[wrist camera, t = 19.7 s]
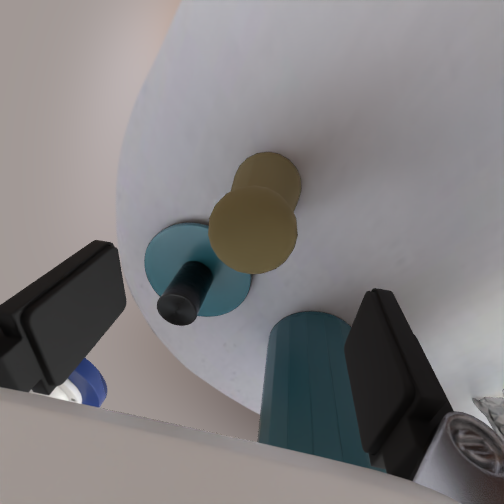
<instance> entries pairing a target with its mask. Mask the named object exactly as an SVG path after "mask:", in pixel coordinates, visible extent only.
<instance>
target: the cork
mask: <svg viewBox="0 0 504 504" xmlns="http://www.w3.org/2000/svg"><path fill="white" fill-rule="evenodd" d="M300 193H301V178H300V176H299V173H298V171H297V169H296V167H295V166H294V165H293V164H292V163H291V161H290V160H289V159H287V158H285V157H283V156H282V155H280V154H277V153H271V152H263V153H257V154H255V155H253V156H251V157H249V158H247V159H246V160H245V161H244V162H243V163H242V164H241V165H240V166H239V168H238V170H237V172H236V174H235V177H234V181H233V184H232V188H231V192H229V193H227V194H226V195H225V196H224V197H223V198H222V199H221V200H220V201H219V202H218V203H217V204H216V205H215V207H214V209H213V211H212V213H211V216H210V218H209V229H208V236H209V240H210V244H211V247H212V249H213V250H214V252H215V253H216V255H217V257H218V258H219V259H220V260H221V261H222V262H223V263H225V264H226V265H227V266H228V267H230V268H232V269H234V270H236V271H238V272H242V273H247V274H261V273H265V272H268V271H271V270H274V269H276V268H277V267H279V266H280V265H281V264H283V263H284V262H285V261H286V260H287V258H288V257H289V255H290V254H291V252H292V251H293V249H294V247H295V243H296V239H297V236H298V234H297V222H296V217H295V215H294V210H295V208H296V205H297V203H298V200H299V197H300Z"/></svg>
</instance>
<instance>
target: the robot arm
mask: <svg viewBox="0 0 504 504" xmlns="http://www.w3.org/2000/svg"><path fill="white" fill-rule="evenodd" d="M125 306H126V296H125V290H124V284H123V278H122V272H121V266H120V260H119V254H118V249H117V248H115V247H114V245H113V243H111V242H105V241H99V240H95V241H93V242H91V243H90V244H88V245H87V246H85V247H84V248H82V249H81V250H80V251H78V252H77V253H75V254H74V255H72V256H71V257H69V258H68V259H66V260H65V261H64V262H62V263H61V264H59V265H58V266H56V267H55V268H54V269H52V270H51V271H49V272H48V273H46V274H45V275H43V276H42V277H40V278H39V279H37V280H36V281H35V282H33V283H32V284H30V285H29V286H27V287H26V288H24V289H23V290H22V291H20V292H19V293H17V294H16V295H15V296H13V297H12V298H10V299H9V300H7V301H6V302H4V303H3V304H1V305H0V504H504V441H503V440H502V439H501V437H500V436H499V435H498V434H497V433H496V432H495V431H494V430H492V429H491V428H490V427H489V426H488V425H486V424H485V423H484V422H482V421H480V420H479V419H477V418H475V417H474V416H471V415H469V414H466V413H463V412H455V411H453V409H452V407H451V405H450V403H449V401H448V399H447V397H446V395H445V393H444V391H443V389H442V387H441V385H440V383H439V381H438V379H437V377H436V375H435V373H434V371H433V369H432V367H431V365H430V363H429V361H428V359H427V357H426V355H425V353H424V351H423V349H422V347H421V345H420V343H419V341H418V339H417V338H416V336H415V335H414V334H413V332H412V330H411V328H410V326H409V324H408V322H407V320H406V318H405V316H404V314H403V312H402V310H401V308H400V306H399V304H398V302H397V300H396V298H395V296H394V294H393V293H392V291H388V290H383V289H377V288H374V289H372V291H371V292H370V291H367V292H366V294H365V296H364V298H363V301H362V303H361V305H360V308H359V310H358V313H357V315H356V318H355V320H354V322H353V325H352V327H351V330H350V332H349V334H348V337H347V339H346V342H345V345H344V354H345V359H346V364H347V370H348V375H349V380H350V385H351V391H352V396H353V401H354V407H355V412H356V417H357V423H358V428H359V433H360V438H361V444H362V448H363V450H364V452H366V453H368V454H369V458H370V463H371V466H373V467H377V468H382V469H386V472H387V473H383V472H380V471H377V470H373V469H369V468H364V467H360V466H356V465H352V464H348V463H344V462H340V461H336V460H332V459H328V458H323V457H319V456H315V455H311V454H307V453H302V452H298V451H293V450H289V449H284V448H280V447H275V446H271V445H267V444H262V443H258V442H253V441H249V440H244V439H240V438H235V437H230V436H227V435H222V434H218V433H213V432H208V431H204V430H199V429H195V428H190V427H186V426H181V425H177V424H172V423H168V422H163V421H158V420H154V419H149V418H145V417H140V416H136V415H131V414H126V413H122V412H117V411H113V410H108V409H103V408H99V407H94V406H89V405H85V404H82V396H81V393H80V391H79V390H78V388H77V387H76V386H75V385H74V384H73V383H72V382H71V381H70V380H69V379H68V377H69V376H70V375H71V374H72V372H73V371H74V370H75V369H76V368H77V366H78V365H79V364H80V363H81V361H82V360H83V359H84V358H85V357H86V355H87V354H88V353H89V352H90V351H91V349H92V348H93V347H94V346H95V345H96V343H97V342H98V341H99V340H100V338H101V337H102V336H103V335H104V333H105V332H106V331H107V330H108V329H109V327H110V326H111V325H112V324H113V323H114V321H115V320H116V319H117V318H118V317H119V315H120V314H121V313H122V312H123V310H124V308H125Z"/></svg>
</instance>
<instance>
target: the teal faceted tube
mask: <svg viewBox="0 0 504 504" xmlns="http://www.w3.org/2000/svg"><path fill="white" fill-rule="evenodd" d="M350 330H351V327H350V326H349V325H348V324H347V323H346V322H345V321H343V320H342V319H340V318H338V317H336V316H334V315H331V314H327V313H323V312H314V311H309V312H300V313H296V314H292V315H290V316H287V317H286V318H284V319H282V320H281V321H279V322H278V323H277V324H276V325H275V326H274V328H273V329H272V331H271V333H270V336H269V342H268V348H267V358H266V367H265V376H264V385H263V394H262V404H261V413H260V423H259V431H258V441H257V442H258V443H262V444H267V445H271V446H275V447H280V448H284V449H289V450H293V451H298V452H302V453H307V454H311V455H315V456H319V457H323V458H328V459H332V460H336V461H340V462H344V463H348V464H352V465H356V466H360V467H364V468H369V469H373V470H377V471H380V472H383V473H387V472H386V469H382V468H377V467H373V466H371V463H370V458H369V454H368V453H366V452H364V450H363V448H362V444H361V438H360V433H359V428H358V423H357V417H356V412H355V407H354V401H353V396H352V391H351V385H350V380H349V375H348V370H347V364H346V359H345V354H344V345H345V342H346V339H347V337H348V334H349V332H350Z"/></svg>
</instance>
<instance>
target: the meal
mask: <svg viewBox="0 0 504 504" xmlns="http://www.w3.org/2000/svg"><path fill="white" fill-rule="evenodd" d="M503 395H504V389H503ZM473 402H474V404H475V405H476V406H477V408H478V409H479V410H480V411H481V412H482V413H483V414H484V415H485V416H486V417H487V419H488V421H489V423H490V424H491V426H492V428H493V430H494V431H495V432H496V433H497V434H498V435H499V436H500V437H501V439H502V440H503V441H504V398H493V397H484V398H482V399H480V400H476V399H474V398H473Z"/></svg>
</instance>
